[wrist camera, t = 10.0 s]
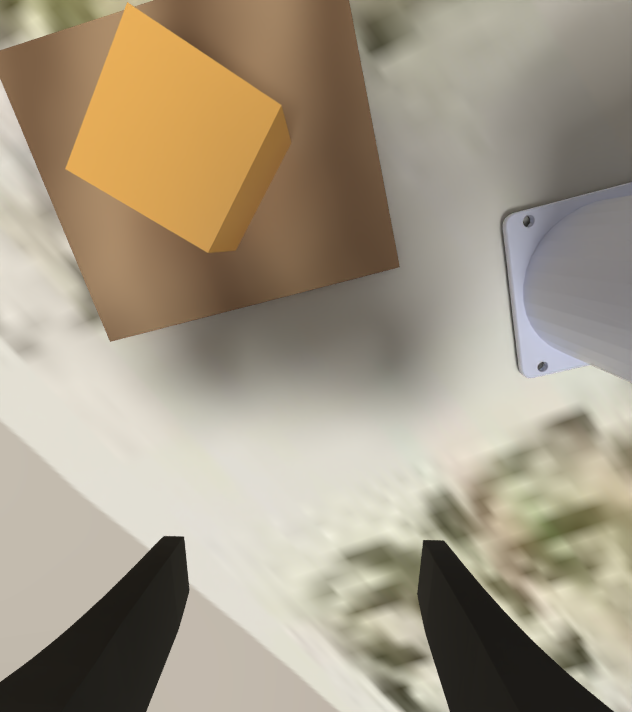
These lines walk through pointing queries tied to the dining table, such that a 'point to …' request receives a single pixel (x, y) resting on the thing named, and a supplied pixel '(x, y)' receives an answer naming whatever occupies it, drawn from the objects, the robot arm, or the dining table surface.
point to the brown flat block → (284, 195)
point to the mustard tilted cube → (179, 136)
